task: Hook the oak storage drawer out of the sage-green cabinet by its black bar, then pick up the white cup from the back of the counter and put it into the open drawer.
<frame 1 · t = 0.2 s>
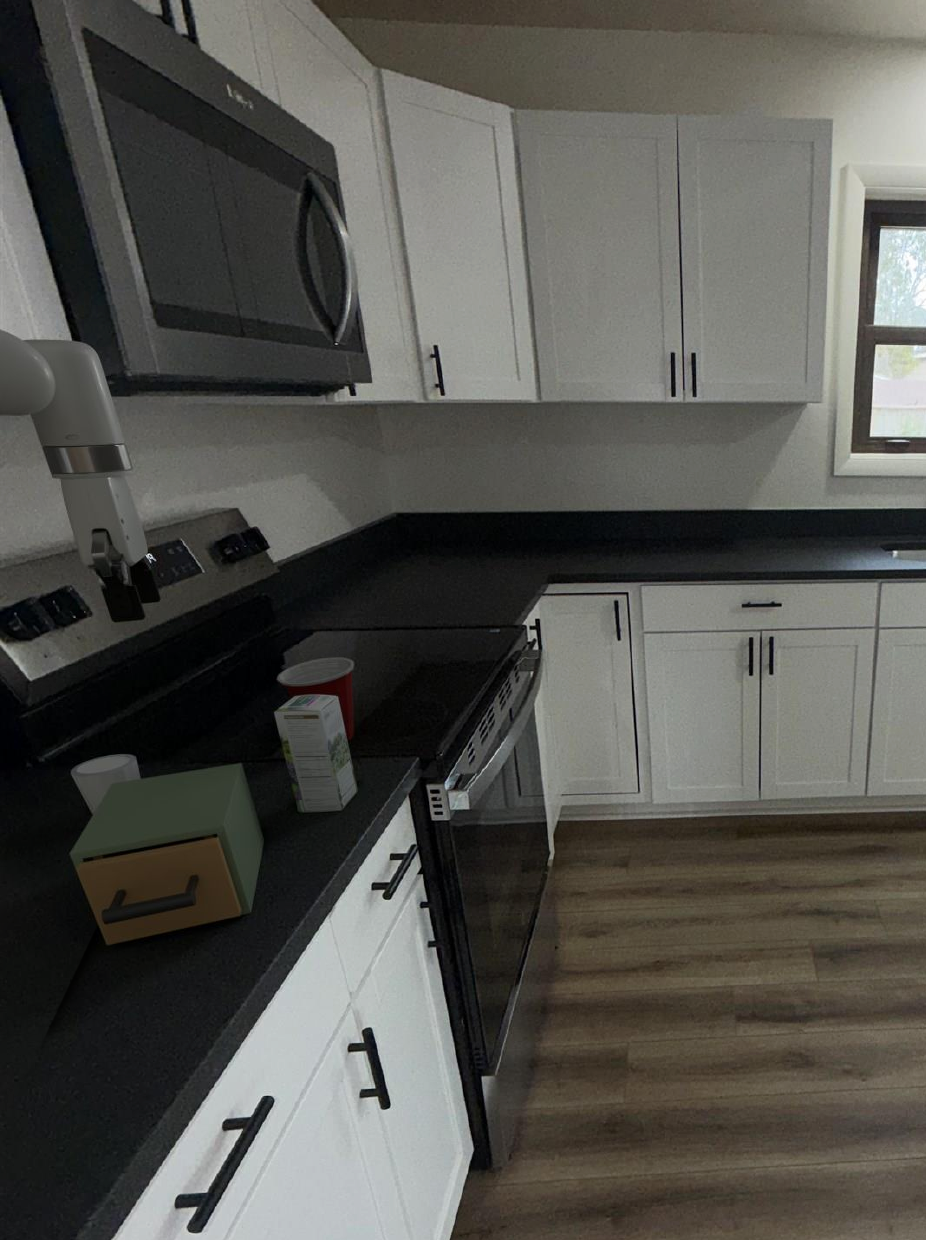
hand: (138, 611, 97), 26 cm above the counter, tool pointing down, fingers open, 9 cm apart
cabinet: (193, 887, 89), on the counter
drawer: (171, 867, 83), point 5 cm above the counter, slide at 0.5 cm
white cup: (122, 813, 105), on the counter
plastic cup: (332, 740, 127), on the counter
syrup box: (330, 804, 107), on the counter
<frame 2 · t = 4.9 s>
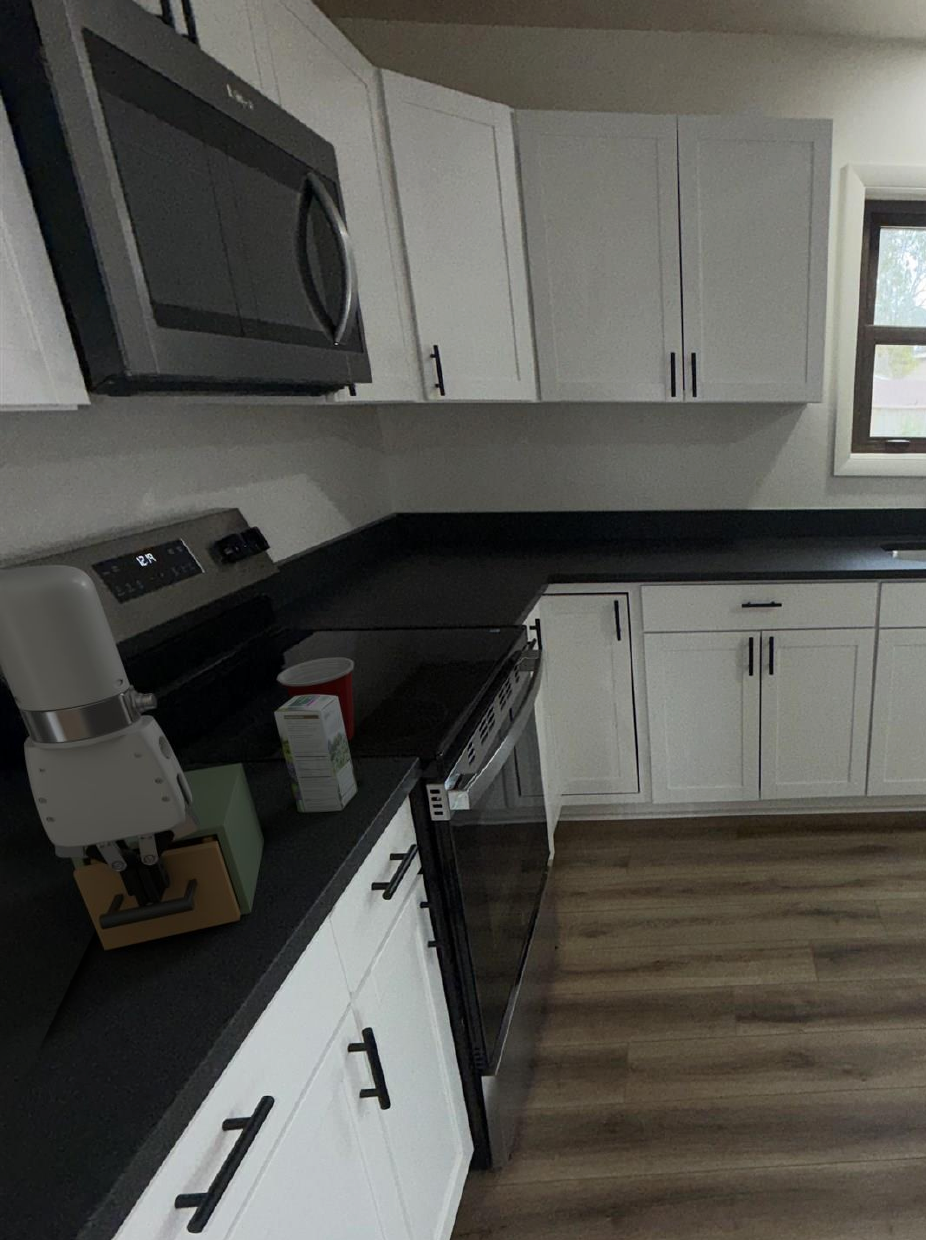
hand: (153, 897, 75), 7 cm above the counter, tool pointing down, fingers closed
drawer: (170, 871, 82), point 5 cm above the counter, slide at 1.3 cm, touching gripper
everything else where it was.
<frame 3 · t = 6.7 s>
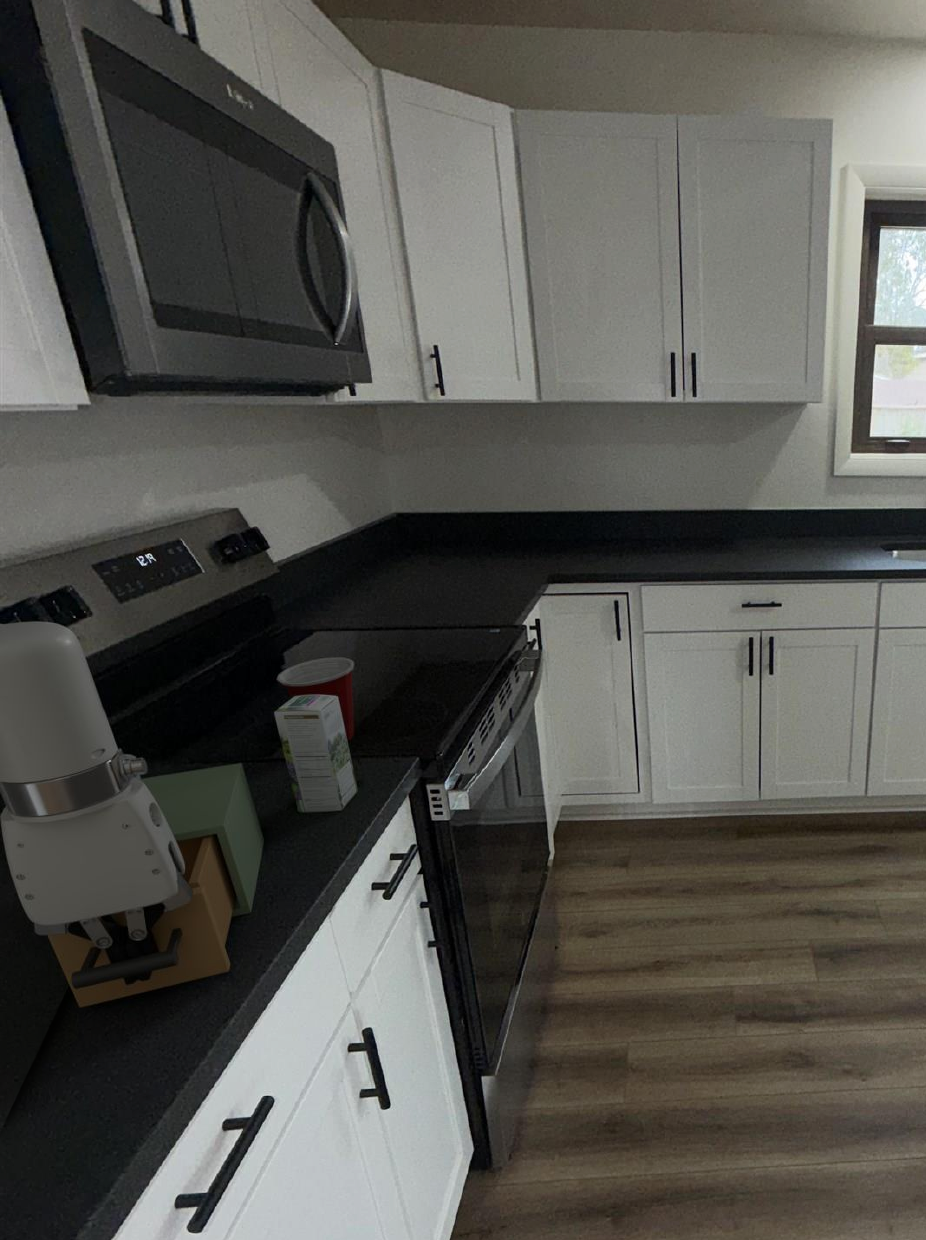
hand: (141, 972, 69), 4 cm above the counter, tool pointing down, fingers closed
drawer: (153, 917, 75), point 5 cm above the counter, slide at 10.1 cm, touching gripper
everything else where it was.
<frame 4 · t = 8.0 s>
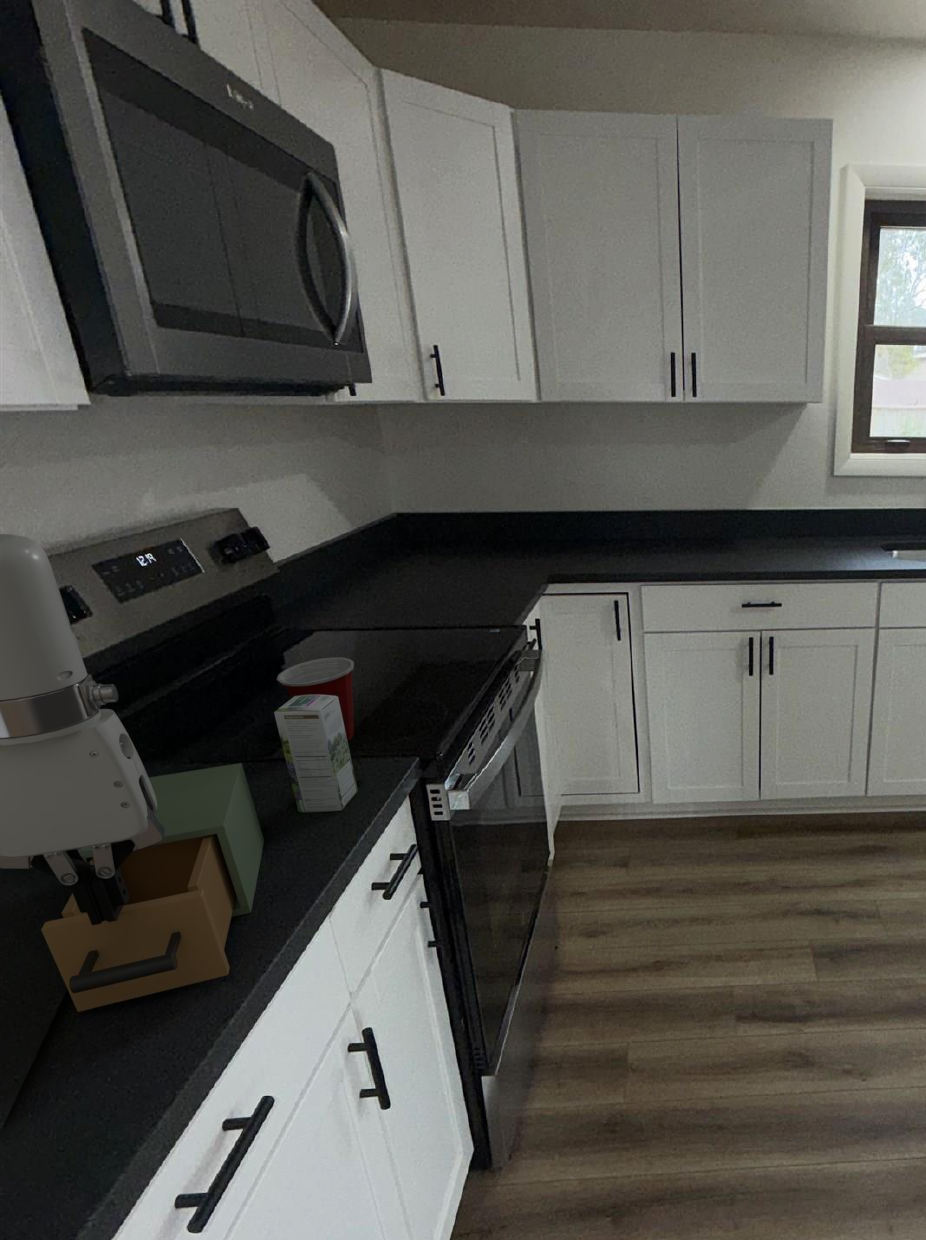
hand: (109, 913, 66), 11 cm above the counter, tool pointing down, fingers closed
drawer: (152, 920, 74), point 5 cm above the counter, slide at 10.7 cm
everything else where it was.
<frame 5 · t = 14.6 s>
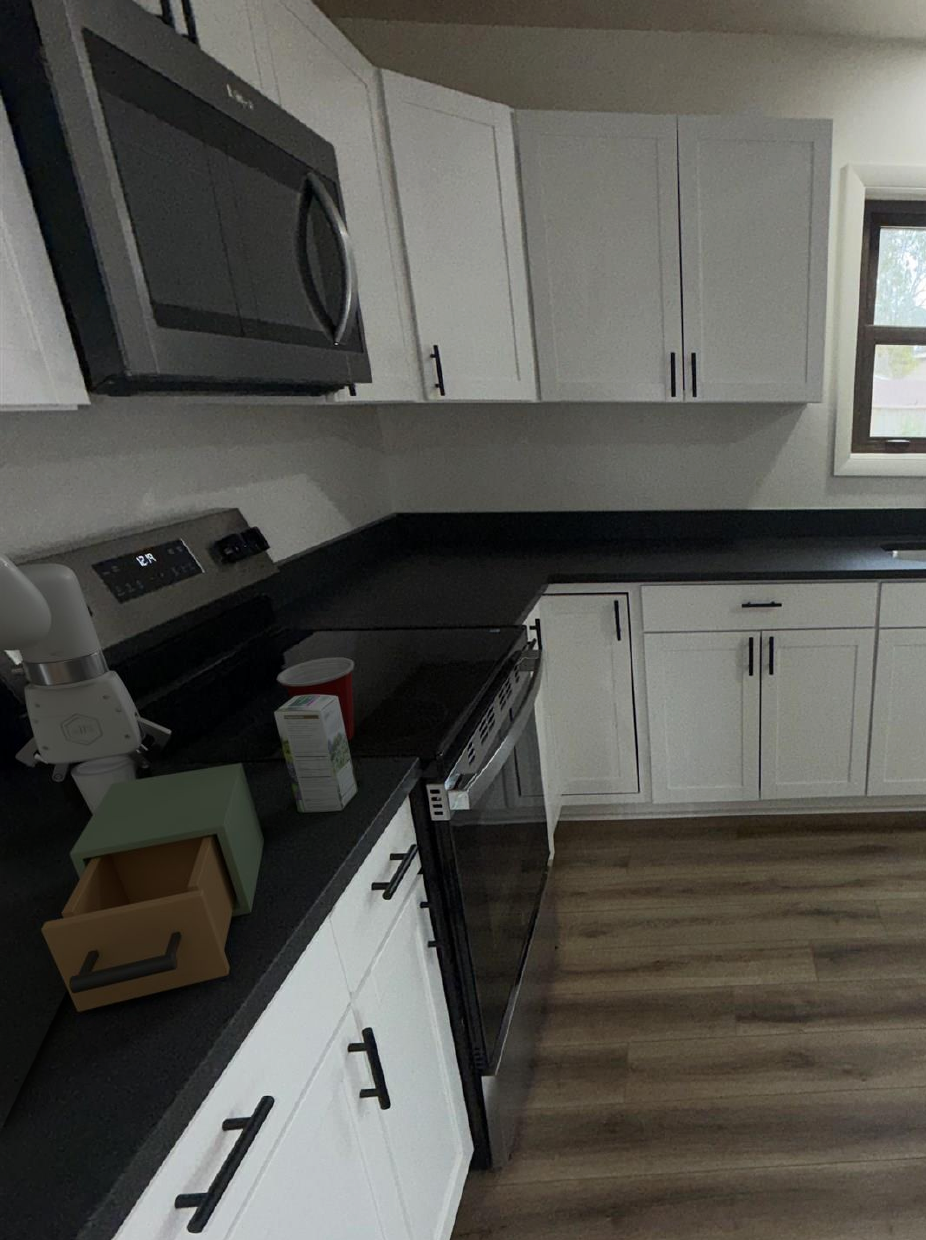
hand: (116, 797, 104), 2 cm above the counter, tool pointing down, fingers closed on white cup, 6 cm apart
white cup: (122, 813, 105), on the counter, touching gripper
everything else where it was.
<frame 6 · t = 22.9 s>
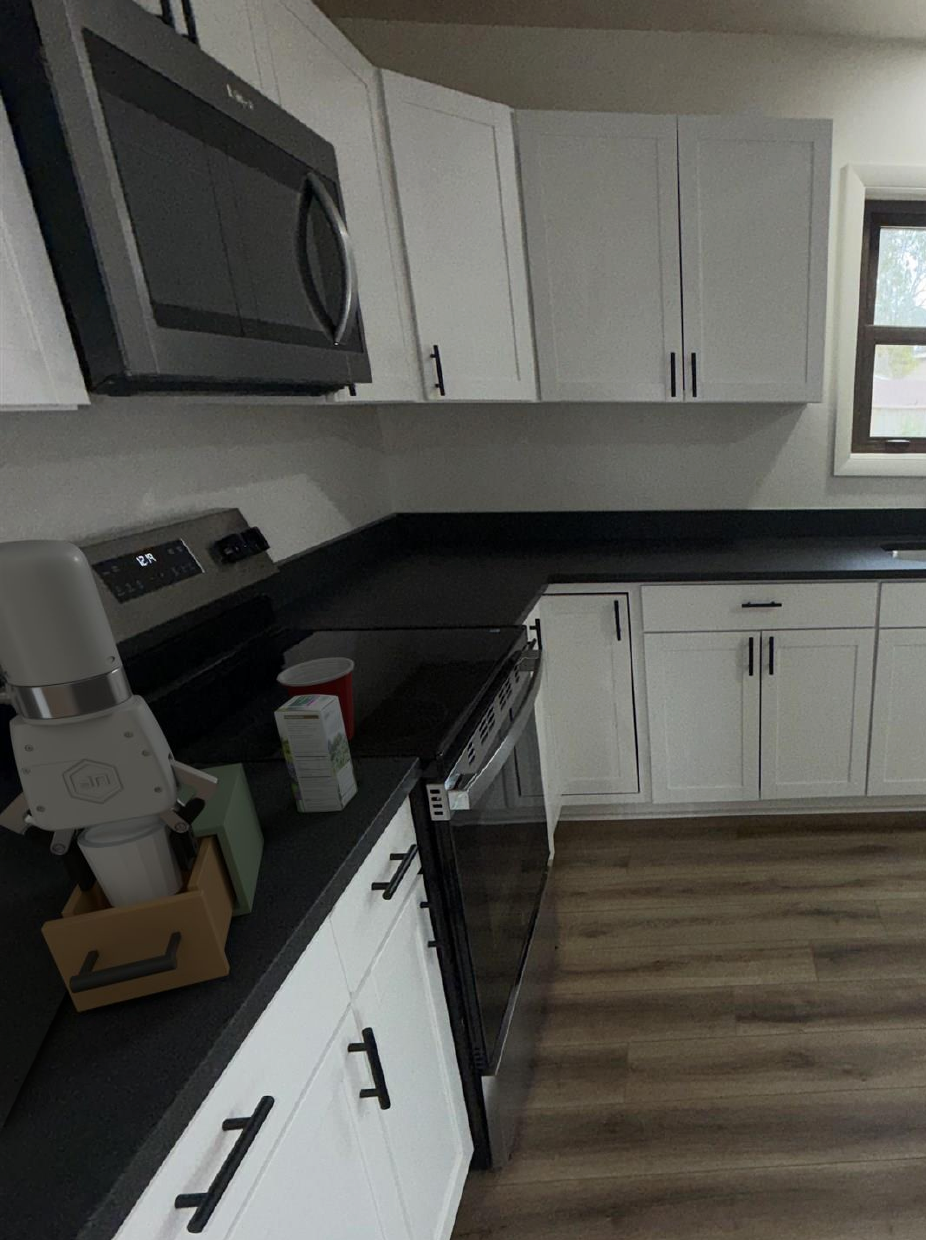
hand: (140, 872, 74), 10 cm above the counter, tool pointing down, fingers closed on white cup, 6 cm apart
white cup: (148, 894, 75), point 7 cm above the counter, touching gripper
everything else where it was.
when the fingers open (10 cm above the counter, at t = 30.8 s): white cup drops 6 cm, resting on drawer.
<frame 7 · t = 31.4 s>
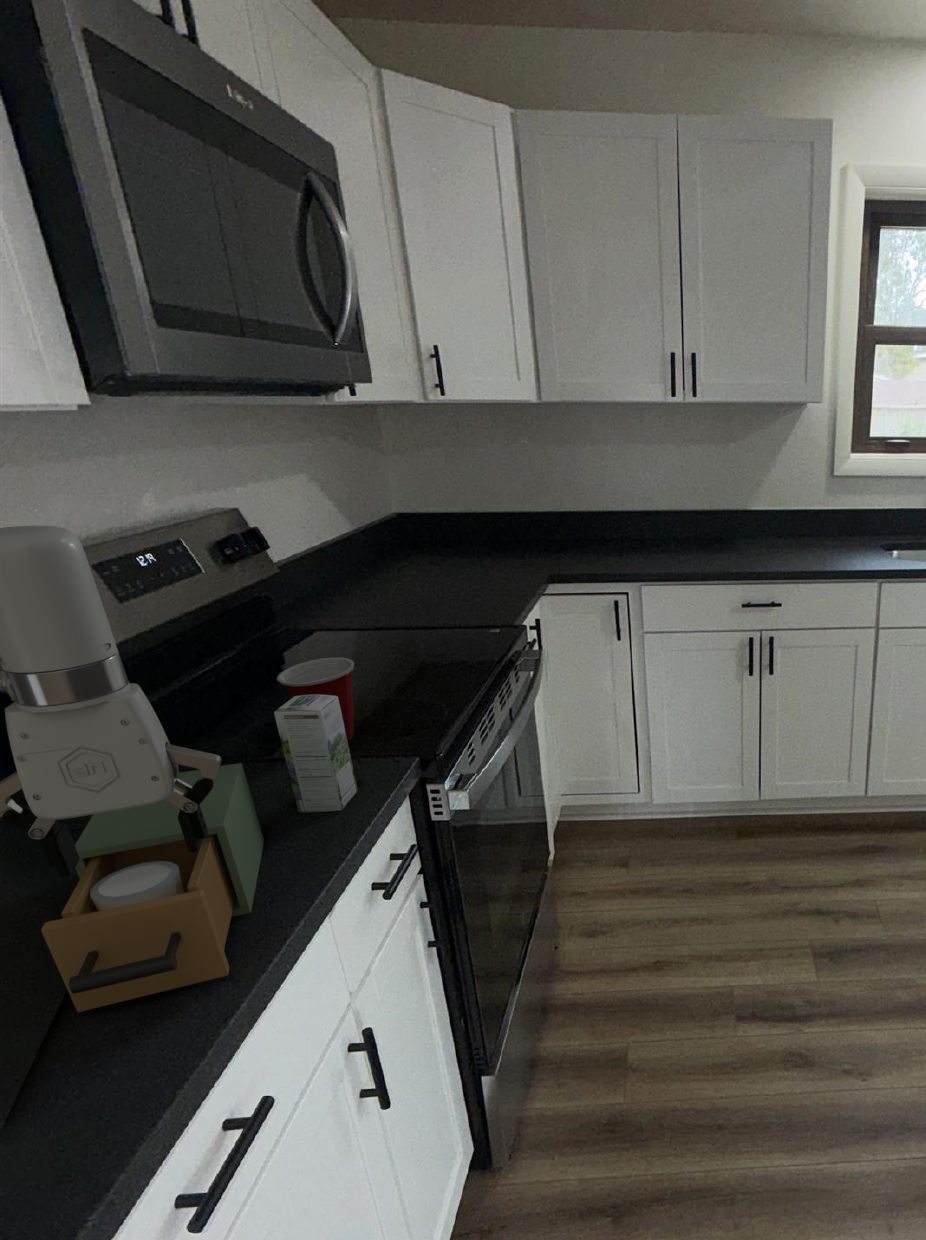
hand: (135, 857, 73), 11 cm above the counter, tool pointing down, fingers open, 9 cm apart
drawer: (151, 921, 74), point 5 cm above the counter, slide at 10.8 cm, touching white cup
white cup: (159, 942, 77), point 2 cm above the counter, touching drawer
everything else where it was.
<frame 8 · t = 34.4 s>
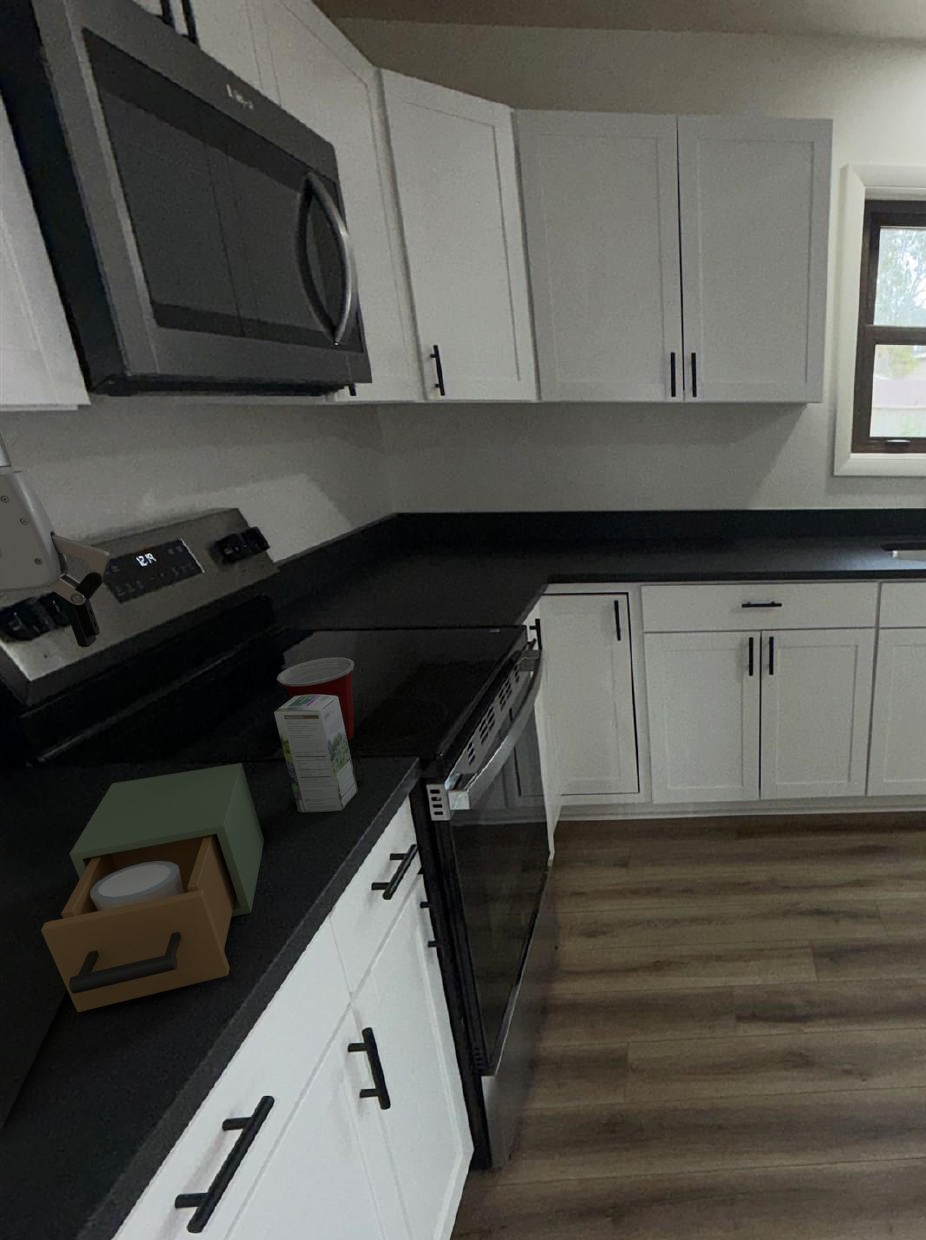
hand: (25, 650, 75), 28 cm above the counter, tool pointing down, fingers open, 9 cm apart
nothing on the counter moved.
at the end: drawer slide at 10.8 cm; white cup inside the target area in the drawer (0.6 cm from its centre), point 1.8 cm above the cabinet's base; the gripper is holding nothing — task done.
